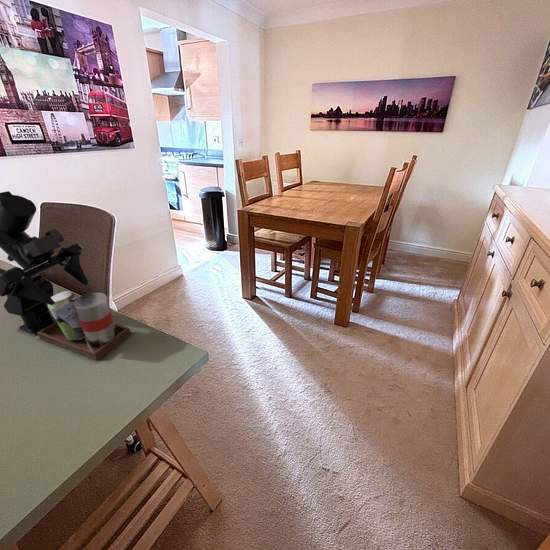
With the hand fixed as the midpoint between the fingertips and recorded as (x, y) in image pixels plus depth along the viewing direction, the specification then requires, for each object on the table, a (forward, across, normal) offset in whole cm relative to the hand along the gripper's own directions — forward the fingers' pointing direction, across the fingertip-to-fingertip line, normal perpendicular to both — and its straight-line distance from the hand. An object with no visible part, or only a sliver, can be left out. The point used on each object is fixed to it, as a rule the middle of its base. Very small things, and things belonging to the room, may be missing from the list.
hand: (71, 293), depth 70 cm
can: (+13, -1, +5) cm, 14 cm away
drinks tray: (+9, 0, +9) cm, 13 cm away
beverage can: (+8, -1, +10) cm, 12 cm away
